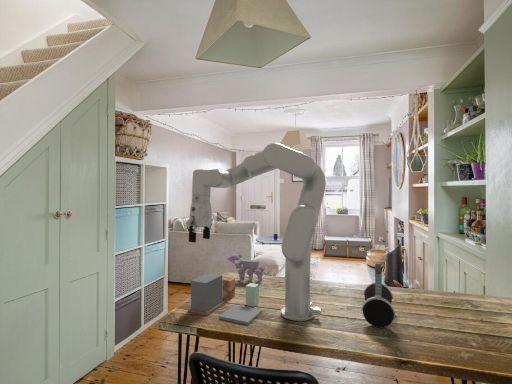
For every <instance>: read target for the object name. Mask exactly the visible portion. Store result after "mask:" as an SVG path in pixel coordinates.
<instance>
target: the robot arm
mask: <svg viewBox="0 0 512 384" xmlns="http://www.w3.org/2000/svg"><path fill="white" fill-rule="evenodd" d="M274 170H280V171H283V172H284V173H288V174H289V175H292V176H294V177H296V178H297V179H301V180H302V184H303V185H302V188H301V191H300V195H299V198H298V202H297V204H296V207H295V208H294V209H292V211H291V213H290V215H289V218H288V220H287V224H286V228H285V231H284V234H283V237H282V241H281V253H282V255H283V256H284V258H285V262H284V263H285V264H284V265H285V266H284V270H285V271H284V299H285V300H284V307H282V308H281V310H280V315H281V317H283V318H285V319H287V320H291V321H296V322H303V321H310V320H311V319H313V318H314V317H315V315H319V316H320V315H322V312H323V311H322V309H321V308H320V307H319V306H314V305H313V302H312V301H311V257H312V256H311V255H312V253H311V251H312V243H311V242H312V240H313V236H314V233H315V231H316V226H317V223H318V221H319V215H320V210H321V207H322V203H323V199H324V196H325V191H326V185H327V181H326V180H327V179H326V176H325V173H324V170H323V169H322V168H321V167H320V165H319V164H318V163H317V162H316V161H315V160H314V159H313V158H312V157H311V156H310V155H308V154H305V153H303V152H301V151H298V150H295V149H293V148H290V147H288V146H285V145H284V144H281V143H280V142H279V143H278V142H271V143H269V144H266V146H265V147H264V149H263V150H261V151H259V152H256V153H253V154H250V155H248V156H246V157H245V158H243V161H242V162H241V163H239V164H238V165H235V166H233V167H231V168H228V169H225V170H223V169H219V168H213V169H203V168H202V169H201V168H200V169H194V170H193V172H192V182H191V185H192V189H191V204H190V208H189V219H187V220H186V222H185V225H186V228H187V229H186V230H187V232H188V243H196V242H197V232H196V231H197V229H198V228H203V229H202V239H205V240H210V239H211V229H212V226H213V222H214V218H212V217H213V215H212V213H213V212H212V204H211V190H212V189H211V188H215V189H226V188H227V189H228V188H230V187H233V186H235V185H238V184H241V183H244V182H246V181H248V180H251V179H253V178H255V177H258V176H261V175H263V174H266V173H268V172H272V171H274Z"/></svg>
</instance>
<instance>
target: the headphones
mask: <svg viewBox="0 0 512 384" xmlns="http://www.w3.org/2000/svg"><path fill="white" fill-rule="evenodd" d="M374 266H375V268H374V271H375V273H374V275H375V276H374V282H372V283H370V284H368V285H367V286H366V287H365V289H364V290H363V294H362V296H364V300H365V301H364V302H363V304H362V306H361V311H362V315H363V317H364V320H366V322H367V323H368V324H370V325H371V326H372V327H376V328H386V327H388V326H390V325H391V324H392V323H393V321H394V318H395V317H396V311H395V309H394V306H393V304H392V303H393V301H392V300H393V299H394V296H393V293H392V291H391V289H390V288H389V287H388V286H387V285H386V284H384V283H383V281H382V279H383V278H382V277H383V275H382V268H383V267H382V263H377V262H376V263H375V265H374Z"/></svg>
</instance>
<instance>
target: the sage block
mask: <svg viewBox="0 0 512 384" xmlns="http://www.w3.org/2000/svg"><path fill="white" fill-rule="evenodd" d="M245 287H246V288H245V306H248V307H252V308H254V307H256V306H257V305H259V303H260V300H259V299H260V289H259V288H260V284H258V283H253V282H252V283H250V282H249V283H248V284H246V285H245Z"/></svg>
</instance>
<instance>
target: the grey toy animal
mask: <svg viewBox="0 0 512 384" xmlns="http://www.w3.org/2000/svg"><path fill="white" fill-rule="evenodd" d="M226 260H228V261H230V262H231V263H233V264H234V265H235V269H237V274H238V276H239V283H240V284H241V283H244V281H243V279H244V280H245V277H246V274H247V275H248V279H249V281H248V282H249V284H250V283H253V277H254V272H255V276H257V282H258V283H257V284H259V285H261V283H262V280H263V272H264V270H265V269H264V267H263V266H260V260H254V259H244V256H243V254H241V253H239V254H238V253H237V254H235V253H234V254H232V255H231V256H228V257H227V258H226Z"/></svg>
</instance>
